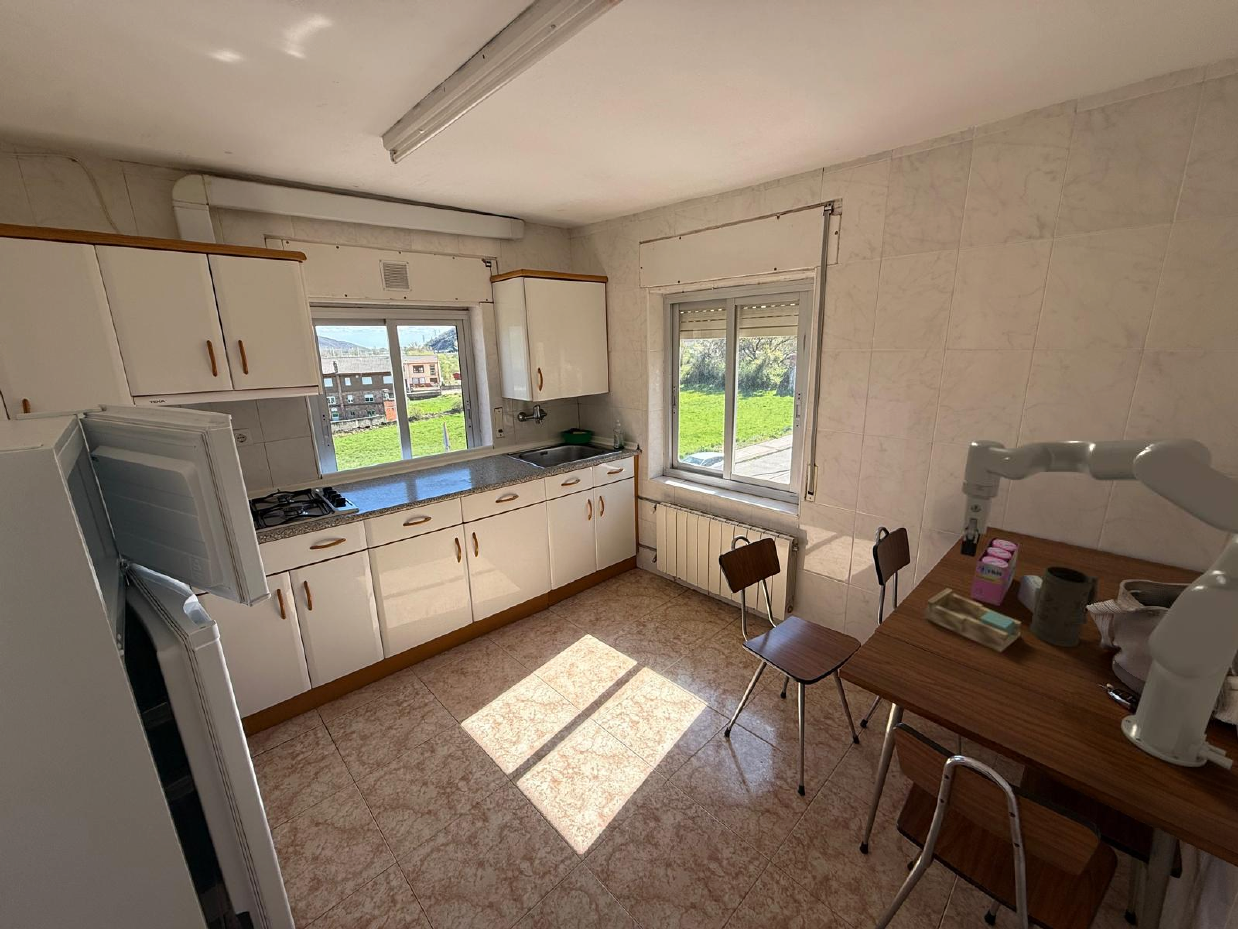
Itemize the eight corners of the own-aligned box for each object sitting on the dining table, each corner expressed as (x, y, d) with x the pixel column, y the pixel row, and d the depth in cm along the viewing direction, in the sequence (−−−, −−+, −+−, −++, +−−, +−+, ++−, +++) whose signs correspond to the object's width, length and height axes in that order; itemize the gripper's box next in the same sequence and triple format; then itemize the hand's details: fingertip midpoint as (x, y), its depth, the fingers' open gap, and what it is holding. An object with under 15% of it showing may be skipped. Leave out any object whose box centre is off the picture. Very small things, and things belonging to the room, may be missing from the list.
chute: (1019, 636, 141) (1023, 618, 140) (1000, 652, 135) (1004, 633, 133) (944, 604, 158) (947, 587, 156) (924, 617, 151) (927, 600, 150)
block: (1011, 634, 140) (1014, 620, 139) (1002, 643, 137) (1005, 628, 136) (987, 624, 145) (990, 610, 144) (977, 632, 142) (980, 617, 141)
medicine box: (1047, 613, 150) (1053, 588, 148) (1031, 612, 151) (1036, 587, 149) (1032, 599, 158) (1038, 575, 155) (1016, 598, 159) (1021, 574, 156)
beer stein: (1058, 651, 134) (1078, 585, 129) (1018, 628, 144) (1035, 566, 139) (1098, 642, 138) (1119, 578, 133) (1056, 621, 148) (1074, 560, 143)
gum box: (986, 570, 176) (993, 535, 172) (1014, 577, 171) (1021, 541, 167) (969, 597, 160) (976, 560, 157) (999, 607, 155) (1007, 568, 151)
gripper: (995, 501, 119) (983, 565, 124) (1000, 481, 132) (989, 539, 137) (958, 495, 124) (948, 557, 129) (966, 476, 137) (957, 533, 142)
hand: (969, 548), depth 133 cm, fingers open, 9 cm apart
